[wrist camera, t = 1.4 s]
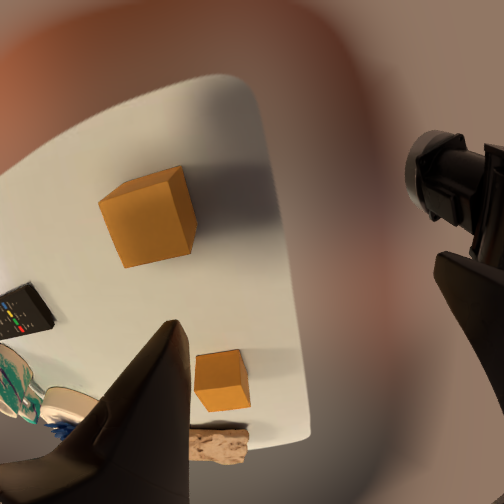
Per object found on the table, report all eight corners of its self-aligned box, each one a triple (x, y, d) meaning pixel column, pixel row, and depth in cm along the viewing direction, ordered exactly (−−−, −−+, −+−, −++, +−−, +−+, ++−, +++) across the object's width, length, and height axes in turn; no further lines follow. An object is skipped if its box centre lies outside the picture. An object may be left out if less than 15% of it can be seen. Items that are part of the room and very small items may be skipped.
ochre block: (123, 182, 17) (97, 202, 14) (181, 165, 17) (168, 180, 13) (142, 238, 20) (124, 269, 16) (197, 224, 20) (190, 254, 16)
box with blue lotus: (18, 415, 23) (91, 466, 33) (79, 427, 23) (155, 475, 32) (31, 384, 29) (97, 440, 39) (91, 387, 29) (158, 444, 38)
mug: (10, 343, 24) (-12, 387, 17) (56, 394, 30) (44, 435, 23) (-13, 344, 24) (-32, 382, 17) (29, 391, 30) (17, 427, 23)
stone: (235, 444, 39) (237, 467, 34) (172, 432, 35) (170, 457, 31) (261, 425, 35) (265, 452, 31) (189, 411, 32) (188, 442, 28)
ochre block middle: (195, 355, 26) (193, 391, 22) (238, 349, 26) (241, 385, 22) (208, 379, 28) (208, 412, 24) (247, 373, 28) (251, 407, 24)
